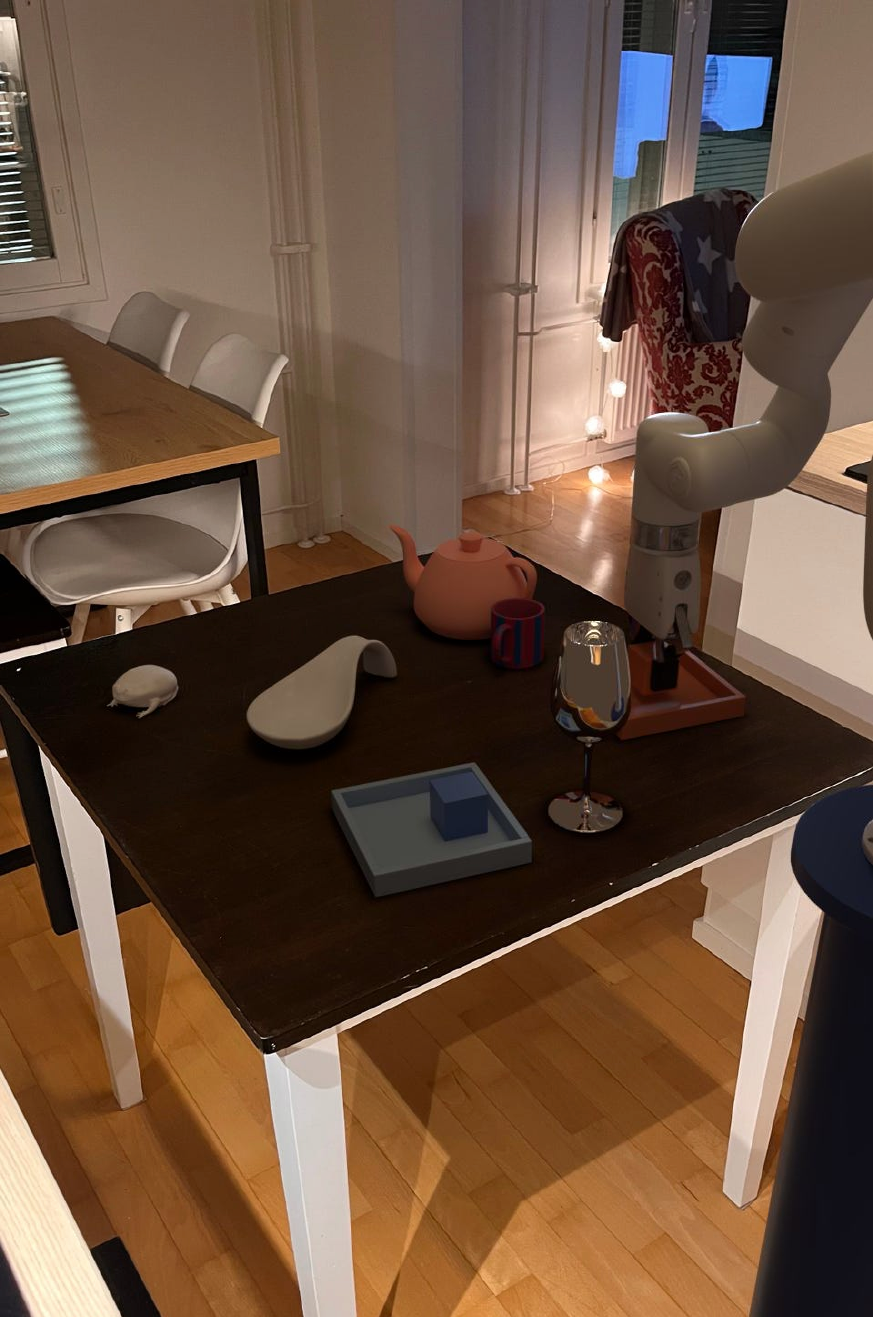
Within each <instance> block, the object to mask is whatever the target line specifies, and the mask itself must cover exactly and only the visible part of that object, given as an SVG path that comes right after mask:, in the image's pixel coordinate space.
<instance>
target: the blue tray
mask: <svg viewBox="0 0 873 1317" xmlns="http://www.w3.org/2000/svg"><path fill="white" fill-rule="evenodd" d="M468 772H472V773H473V774H474V775H475V777H476V778H477V780H478V781H479V782H480V784H481V785H482V787H483V788H484V790H485V791H486V792H487V794H488V832H487V833H482V834H478V835H473V836H468V837H464V838H459V839H455V840H450V841H445V840H444V839H443V837H442V836H441V834H440V832H439V831H438V829H437V827H436V826H435V824H434V823H433V821H432V819H431V815H430V783H429V780H433V779H438V778H443V777H448V776H453V775H458V774H463V773H468ZM330 793H331V803H332V812H333V814H334V816H335V818H336V820H337V823H338V824H339V826H340V829H341V831H342V832H343V835H344V836H345V838H346V840H347V843H348V845H349V847H350V849H351V851H352V853H353V855H354V857H355V859H356V861H357V863H358V865H359V867H360V869H361V871H362V873H363V876H364V877H365V879H366V882H367V883H368V885H369V887H370V890H371V891H372V894H373V896H374V897H375V898H379V897H384V896H388V895H392V894H397V893H401V892H407V891H411V890H414V889H419V888H423V887H424V888H425V887H429V886H433V885H438V884H442V883H445V882H450V881H455V880H459V879H465V878H469V877H473V876H477V875H482V874H486V873H490V872H495V871H499V870H504V869H508V868H512V867H513V868H514V867H517V866H521V865H526V864H531V863H533V855H532V854H533V840H532V839H531V838H530V836H529V835H528V833H527V832H526V831H525V829H524V828H523V826H522V825H521V824H520V822H519V821H518V820H517V818H516V817H515V815H514V814H513V813H512V811H511V810H510V808H508V806H507V805H506V803H505V801H503V799H502V797H501V796H500V795H499V794H498V792H497V790H495V788H494V787H493V785H492V784H491V783H490V781H489V779H488V778H487V777H486V775H485V774H484V773H483V772H482V770H481V769H480V767H479V766H478V765H477V763H476V762H470V763H464V764H459V765H454V766H449V767H445V768H444V767H443V768H438V769H433V770H428V771H424V772H418V773H413V774H409V775H403V776H398V777H392V778H388V779H383V780H378V781H373V782H368V783H363V784H358V785H353V786H348V787H343V788H337V789H333V790H331V791H330Z"/></svg>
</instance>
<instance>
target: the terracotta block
mask: <svg viewBox="0 0 873 1317" xmlns="http://www.w3.org/2000/svg"><path fill="white" fill-rule="evenodd" d="M668 645H670V644H669V643H668V642H666V640H664V647H665V648H666V647H667V646H668ZM627 652H628V659H629V666H630V673H631V682H632V685H633V686H634V687H635V688H636V689H637V690H638V691H639V692H640V693H641V694H642V695H643V696H644V695H650V694H655V693H660V692H666V691H671V690H676V689H678V681H679V670H680V659H679V667H678V677H677V686H676V687H675V688H673V689H668V690H662V691H657V692H653V691H652V690H651V689H650V682H651V670H652V659H656V647H655V641H651V642H646V643H640V644H634V645H631V644H629V645H628V646H627Z"/></svg>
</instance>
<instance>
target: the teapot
mask: <svg viewBox="0 0 873 1317" xmlns="http://www.w3.org/2000/svg"><path fill="white" fill-rule="evenodd" d="M389 529H390V530H391V531H392V532H393V534H395V535H396V537H397V539H398V540H399V542H400V546H401V551H402V552H401V553H402V571H403V577H404V580H405V583H406V585H407V586H408V587H409V589H410V590H411V591H412V592H413V593H414V596H413V610H414V613H415V615H416V617H417V618H418V619H419V621H420V622H421V623H423V624H424V626H425V627H426V628H427V629H429V630H430V631H431V632H433V633H435V634H437V635H439V636H442V637H445V638H449V639H454V640H462V641H463V640H465V641H477V640H478V641H479V640H487V639H491V607H492V605H493V604H495V603H496V602H498V601H501V600H504V599H510V598H526V599H531V600H533V597H534V593H535V589H536V588H537V582H538V581H537V580H538V573H537V569H536V568H535V566H534V565H533V564H532V563H531V562H530V561H528V560H527V559H525V558H522V557H514V556H513V555H512V553H511V551H510V550H509V549H508V548H507V547H506V546H505V545H504V544H503V543H502V542H499V541H498V540H495V539H492V538H486V537H484V535H483V534H482V533H480V532H476V531H467V532H462V533H460V534H459V536H458V538H454V539H449V540H446V541H444V542H442V543H441V544H440V545H439V546H437V547H436V549H435V550H434V551H433V553H432V554H431V555H430V557H429V559H428V560H427V562H426V564H425V565H423V564H422V563H421V562H420V559H419V557H418V553H417V548H416V543H415V540H414V538H413V536H412V534H410V532H408V531H407V530H406V529H404V528H402V527H400V526H398V525H392V524H391V525H389ZM523 572H524V573H525V575H526V578H527V580H526V578H525V575H524V573H523Z"/></svg>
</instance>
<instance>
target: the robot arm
mask: <svg viewBox="0 0 873 1317" xmlns="http://www.w3.org/2000/svg"><path fill="white" fill-rule="evenodd" d="M734 264H735V266H734V268H735V271H736V275H737V279H738V281H739V283H740V285H741V287H742V288H743V290H744V291H745V292H746V293H747V294H748V295H749V296H750V297H752V298H753V299H755V300H756V301H759V302H758V304H757V306H756V308H755V310H754V312H753V313H752V316H751V317H750V319H749V321H748V323H747V325H746V327H745V328H744V331H743V332H742V338H741V348H742V352H743V356H744V357H745V359H746V361H747V363H748V364H749V365H750V366H751V368H752V369H753V370H754V371H755V372H756V373H758V375H760V376H761V377H762V378H764V379H765V380H767V381H768V382H770V383H771V384H773V385H775V386H777V388H776V390H775V392H774V394H773V396H772V398H771V399H770V401H769V403H768V405H767V407H766V409H765V410H764V411H763V413H762V415H761V417H760V418H759V419H758V421H757V422H754V423H750V424H745V425H740V426H735V427H730V428H726V429H720V430H717V431H711V432H709V427H708V425H707V423H706V422H705V420H704V419H702V418H701V417H699V416H696V415H694V414H689V413H683V412H661V413H655V414H652V415H649V416H646V417H645V418H644V419H643V420H642V421H641V422H640V423H639V425H638V428H637V430H636V437H635V454H634V466H633V467H634V469H633V483H632V497H631V498H632V499H631V512H630V525H629V526H630V527H629V540H628V541H629V542H628V543H629V549H628V553H627V554H628V555H627V561H626V569H625V578H624V591H623V592H624V593H623V604H624V609H625V610H626V612H627V613H628V617H627V618H628V620H629V623H630V628H629V638H630V639H631V641H630V645H634V644H640V643H646V642H651V641H655V647H656V659H652V670H651V682H650V689H651V690H652V691H653V692H657V691H662V690H668V689H673V688H675V687H676V686H677V677H678V667H679V659H681V658H682V655H683V654H684V653H685V652H687V651H691V650H693V647H694V645H693V641H692V640H693V639H692V636H691V635H697V633H698V630H699V624H700V612H701V611H700V610H701V592H702V591H701V585H702V584H701V583H702V582H701V581H702V580H701V579H702V578H701V561H700V552H699V550H698V547H699V542H700V541H699V540H700V533H701V532H700V531H701V522H702V513H706V512H711V511H715V510H718V509H719V510H720V509H724V508H728V507H732V506H734V505H737V504H740V503H745V502H749V501H755V500H759V499H762V498H767V497H770V496H773V495H776V494H778V493H780V492H782V491H783V490H785V489H786V488H787V487H788V486H789V485H791V484H792V483H793V482H794V481H795V480H796V478H797V477H798V476H799V475H800V473H801V472H802V471H803V469H804V468H805V466H806V465H807V463H808V462H809V460H810V459H811V457H812V456H813V454H814V453H815V451H816V450H817V448H818V446H819V445H820V443H821V441H822V439H823V438H824V435H825V434H826V431H827V428H828V425H829V422H830V415H831V406H832V387H831V381H830V377H829V372H830V370H831V368H832V367H833V364H834V362H835V361H836V359H837V358H838V356H839V355H840V353H841V351H842V350H843V349H844V346H845V344H847V341H848V339H849V338H850V336H851V335H852V333H853V331H854V330H855V328H856V327H857V325H858V323H859V322H860V320H861V318H862V317H863V315H864V314H865V312H866V311H867V309H868V307H869V306H870V305H871V302H872V300H873V151H871V152H867V153H866V154H863V155H859V156H857V157H855V158H853V159H850V160H848V161H845V162H843V163H840V164H838V165H836V166H833V167H830V168H828V169H826V170H823V171H821V172H818V173H816V174H813V175H811V176H808V177H806V178H803V179H800V180H798V181H796V182H793V183H790V184H788V185H785V186H783V187H780V188H778V189H776V190H774V191H772V192H771V193H769V194H768V195H766V196H765V197H763V198H762V199H761V200H760V201H759V202H758V203H757V204H756V205H754V207H753V208H752V210H751V211H750V212H749V213H748V215H747V217H746V218H745V220H744V222H743V224H742V225H741V228H740V231H739V233H738V235H737V240H736V244H735V251H734ZM865 496H866V497H865V522H864V523H865V524H864V550H863V551H864V552H863V575H862V576H863V577H862V578H863V581H862V584H863V586H862V601H863V613H864V619H865V623H866V627H867V628H866V629H867V630H868V633H869V635H870V637H871V640H872V641H873V454H872V456H871V459H870V463H869V466H868V472H867V481H866V494H865ZM671 629H673V631H671ZM668 640H672V643H671V644H672V645H670V644H669V645H668V646H667V647H666V648H665V647H664V641H668ZM862 848H863V852H864V854H865V856H866V857H867V859H868V861H869V862H870V863H871V864H872V865H873V820H872V821H870V822H869V823H868V825H867V826H866V828H865V830H864V833H863V838H862Z"/></svg>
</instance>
